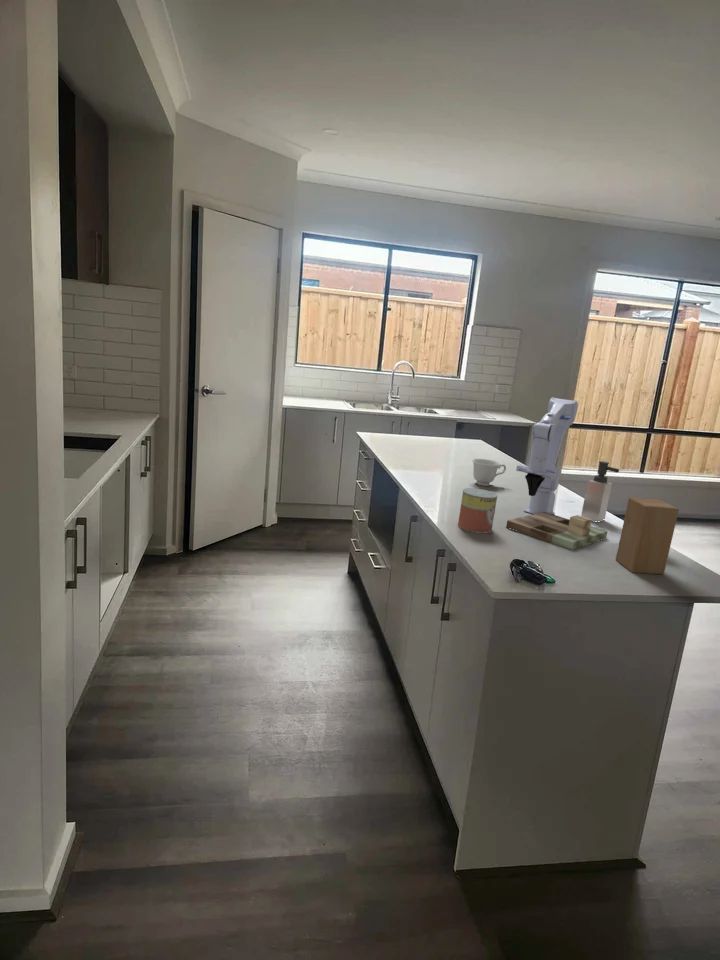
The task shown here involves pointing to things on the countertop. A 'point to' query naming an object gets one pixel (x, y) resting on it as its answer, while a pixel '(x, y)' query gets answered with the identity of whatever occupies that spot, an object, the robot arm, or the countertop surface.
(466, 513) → the canned food
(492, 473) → the teacup
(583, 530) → the maple cube
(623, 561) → the wooden block
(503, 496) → the countertop surface
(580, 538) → the trap board
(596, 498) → the soap dispenser
